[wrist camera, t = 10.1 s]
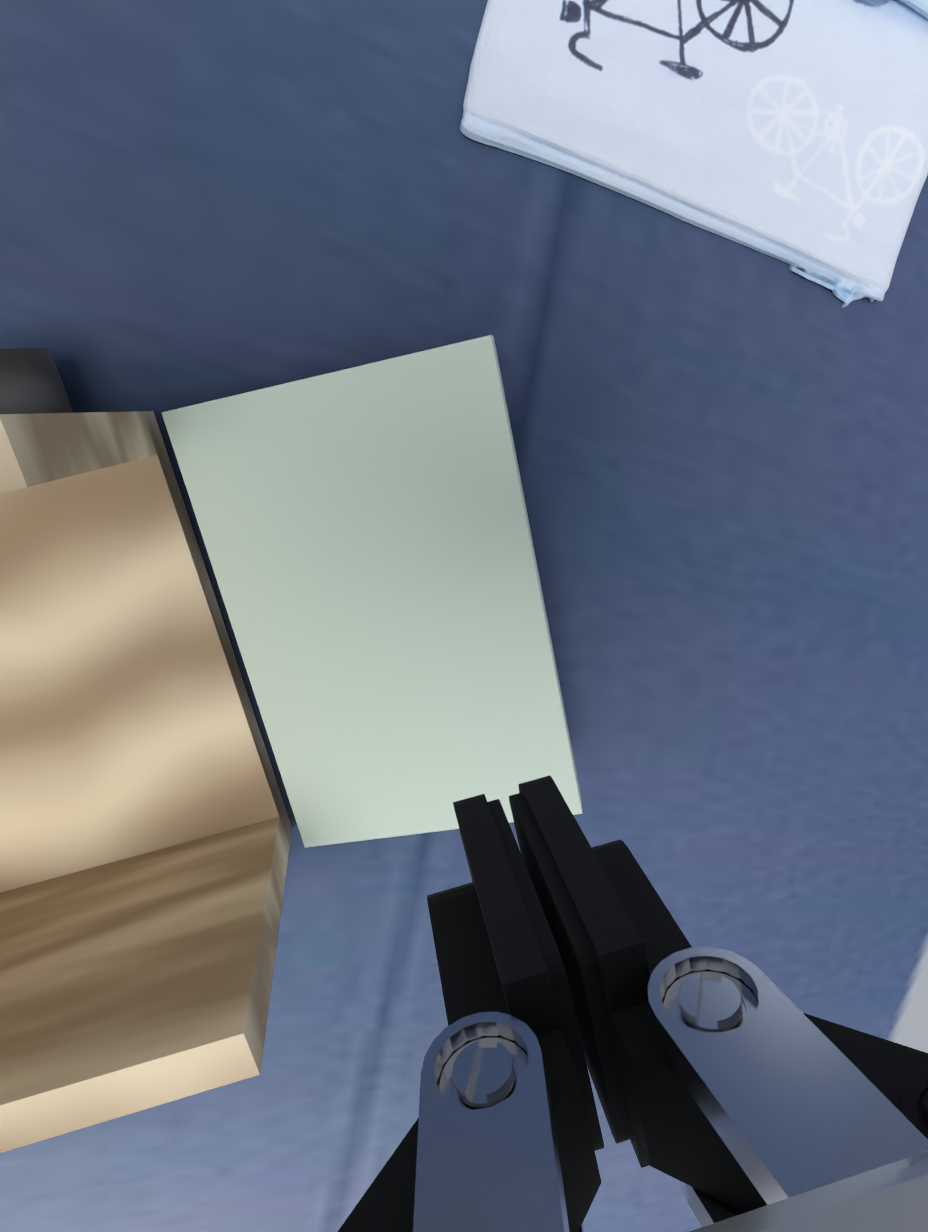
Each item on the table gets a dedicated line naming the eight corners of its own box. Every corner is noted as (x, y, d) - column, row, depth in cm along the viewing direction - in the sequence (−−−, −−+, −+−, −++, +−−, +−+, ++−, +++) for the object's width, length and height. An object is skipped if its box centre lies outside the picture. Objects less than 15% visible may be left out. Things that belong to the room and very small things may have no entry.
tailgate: (161, 412, 25) (490, 335, 23) (185, 409, 26) (494, 336, 25) (304, 847, 30) (582, 813, 28) (317, 821, 32) (580, 787, 30)
